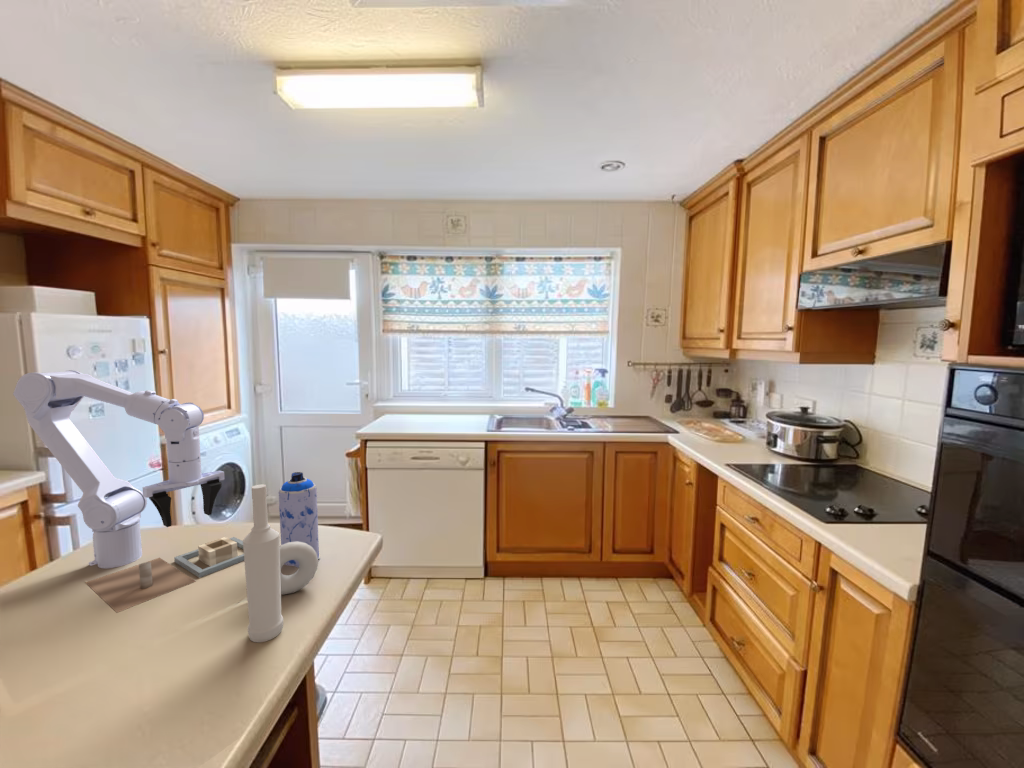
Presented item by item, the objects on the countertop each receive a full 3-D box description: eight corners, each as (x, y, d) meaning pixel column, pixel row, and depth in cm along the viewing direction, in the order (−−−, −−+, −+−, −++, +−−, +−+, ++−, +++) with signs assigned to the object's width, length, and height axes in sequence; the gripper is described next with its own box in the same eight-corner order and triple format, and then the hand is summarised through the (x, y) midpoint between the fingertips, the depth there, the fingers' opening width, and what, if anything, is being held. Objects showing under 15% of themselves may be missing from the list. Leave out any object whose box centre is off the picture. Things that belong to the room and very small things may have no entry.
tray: (174, 566, 93) (174, 557, 93) (234, 544, 103) (234, 536, 103) (199, 582, 87) (199, 572, 87) (260, 558, 97) (260, 549, 97)
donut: (263, 605, 79) (260, 553, 78) (260, 597, 82) (258, 546, 81) (321, 587, 85) (319, 539, 84) (316, 580, 88) (315, 532, 87)
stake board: (85, 587, 85) (83, 560, 85) (159, 561, 95) (158, 537, 95) (117, 617, 75) (114, 588, 75) (196, 586, 85) (194, 559, 85)
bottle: (246, 647, 68) (238, 493, 66) (249, 628, 73) (241, 484, 71) (283, 637, 70) (276, 488, 68) (283, 619, 75) (277, 479, 73)
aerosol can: (327, 555, 98) (324, 469, 96) (302, 572, 91) (298, 480, 89) (299, 551, 100) (295, 467, 99) (272, 567, 93) (267, 476, 91)
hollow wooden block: (199, 561, 94) (198, 545, 94) (226, 551, 99) (225, 536, 98) (210, 568, 91) (209, 552, 91) (237, 557, 96) (236, 542, 96)
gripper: (150, 469, 86) (154, 535, 87) (229, 454, 98) (232, 512, 99) (137, 464, 89) (141, 527, 91) (214, 450, 102) (218, 506, 103)
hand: (188, 519), depth 95 cm, fingers open, 7 cm apart
